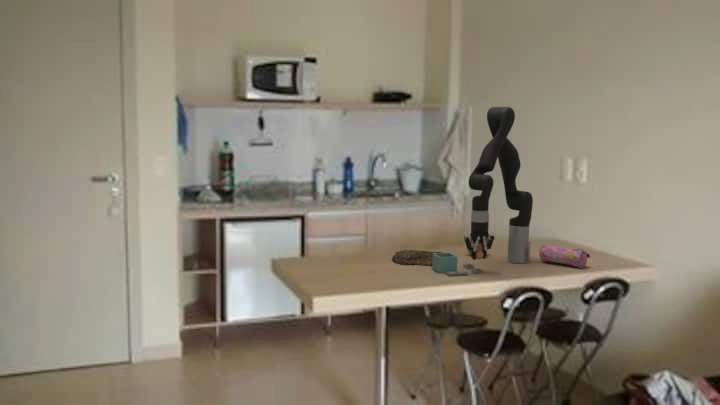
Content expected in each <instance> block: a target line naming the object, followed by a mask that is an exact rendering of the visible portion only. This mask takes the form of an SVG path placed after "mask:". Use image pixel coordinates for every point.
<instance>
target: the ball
mask: <svg viewBox="0 0 720 405" xmlns="http://www.w3.org/2000/svg"><path fill="white" fill-rule="evenodd" d="M483 256H484V254H483V252H482V251H481V250H477V251H476V260H481V259H482V258H483Z"/></svg>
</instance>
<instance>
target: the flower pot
mask: <svg viewBox="0 0 720 405" xmlns="http://www.w3.org/2000/svg"><path fill="white" fill-rule="evenodd" d="M472 241H473V240H472V239H470V243H471V247H472ZM487 242H488V238H487V240H486V243H487ZM466 250H467V252H468V254H469V255H470V256H471V250H469V249H467V248H466ZM477 250H481V251H482V250H483V249H482V245H481V243H479V244H478V246H477V248H476V251H477Z"/></svg>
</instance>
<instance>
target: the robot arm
mask: <svg viewBox="0 0 720 405" xmlns="http://www.w3.org/2000/svg"><path fill="white" fill-rule="evenodd" d="M515 118H516V114H515V110H514V109H513V108H512V107H509V106H491V107H489V109H488V110H487V112H486V121H487V125H488V128H489V130H490V134H491V137H492V138H491V140H490V141H488V143H487V144H486V145H485V147H484V148H483V150H482V152H481V155H480V157H479V159H478V163H477V165H476V166H475V168H474V170H473V171H472V172H471V174H470V176H469V178H468V186H469V188H470V189H471V190H473V191H480V192H481V193H480V194H479V195H475V196H474V195H473V197H472V198H471V199H472V201H471V205H472V206H471V213H470V216H471V217H470V234H469V235H468V236H464V238H463V240H464V242H465V246H466V250H467V249H469V250H471V255H470V256H471V259H472V260H474V261H475V260H477V258H476V248H477V246H478V244H479V243H481V245H482V249H483V250H482V252H483V254H484V256H483V258H482V259H483V260H485V259H486V258H487V251H488V250H491V249H492V246H493V243H494V241H495V236H494V235H492V234H490V233H489V226H490V225H489V224H490V214H489V206H490V204H489V203H490V198H491V194H492V191H493V188H494V179H493V177H492V175H489V174H486V173H490V172H493V171H494V170H495V166H496V164H497V160H498V164H499V167H500V173H501V176H502V180H503V187H504V194H505V202H506V206H507V207H508V209H509V210H512V211H517V212H518V214H517V216H515V217H511V218H509V223H508V242H507V245H508V246H507V262H508V263H512V264H528V263H530V258H531V256H530V255H531V242H530V223H531V220H532V215H533V214H532V212H533V205H534V204H533V203H534V202H533V201H534V199H533V195H532V193H531V192H530V191H525V190H518V188H517V183H516V179H517V176H518V175H519V172H520V170H521V166H522V165H521V160H520V156H519V151H518V149H517V148H516V147H515V145H514V144H513V143H512V141H511V140H510V139H509V138H508V135H509V133H510V131H511V130H512V128H513V125H514V123H515V120H516V119H515ZM487 238H488V242H487V243H486V240H487ZM470 239H472V240H473V241H472V247H471V243H470Z"/></svg>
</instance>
